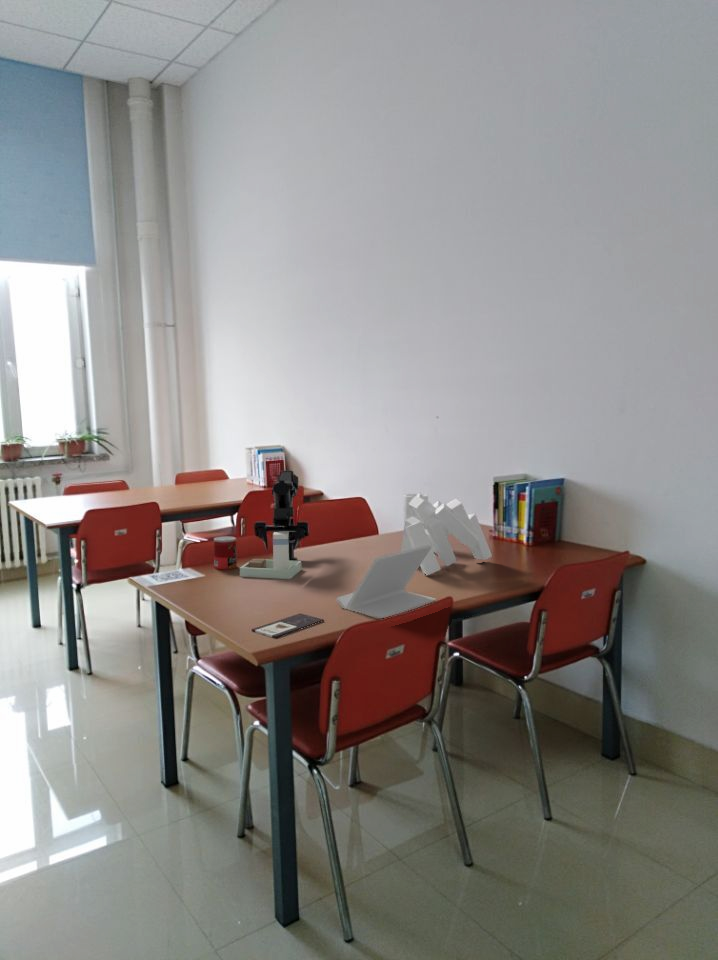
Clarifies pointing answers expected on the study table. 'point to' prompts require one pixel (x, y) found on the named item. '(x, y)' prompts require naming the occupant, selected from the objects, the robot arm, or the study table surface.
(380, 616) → the tablet stand
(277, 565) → the carton
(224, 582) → the study table surface
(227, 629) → the study table surface
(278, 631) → the chocolate bar
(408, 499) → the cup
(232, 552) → the canned food
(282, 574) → the pale green tray
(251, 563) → the walnut block
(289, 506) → the robot arm
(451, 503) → the white geometric sculpture
